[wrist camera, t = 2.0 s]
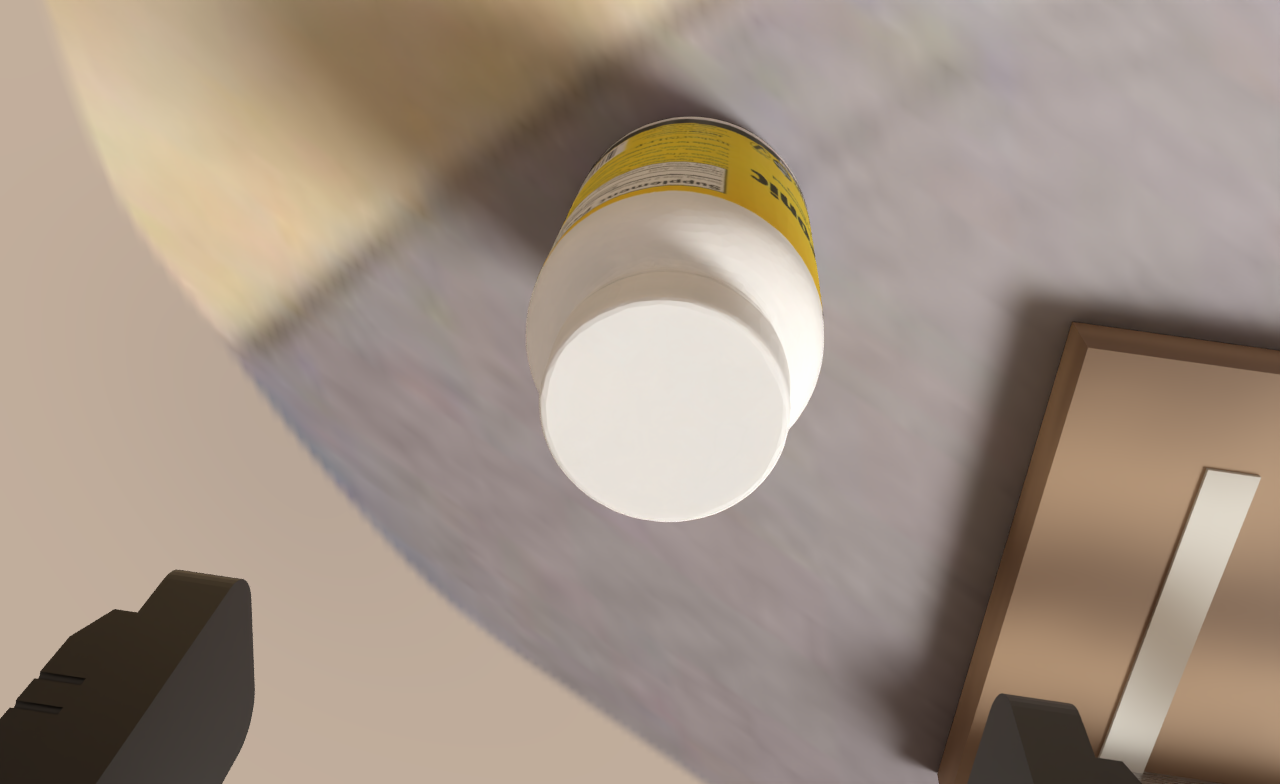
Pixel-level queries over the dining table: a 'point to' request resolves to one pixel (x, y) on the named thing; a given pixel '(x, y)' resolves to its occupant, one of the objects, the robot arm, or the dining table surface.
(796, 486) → the dining table surface
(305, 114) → the dining table surface
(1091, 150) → the dining table surface
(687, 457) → the supplement bottle
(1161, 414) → the brown flat wooden board
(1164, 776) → the metal straightedge
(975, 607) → the dining table surface
